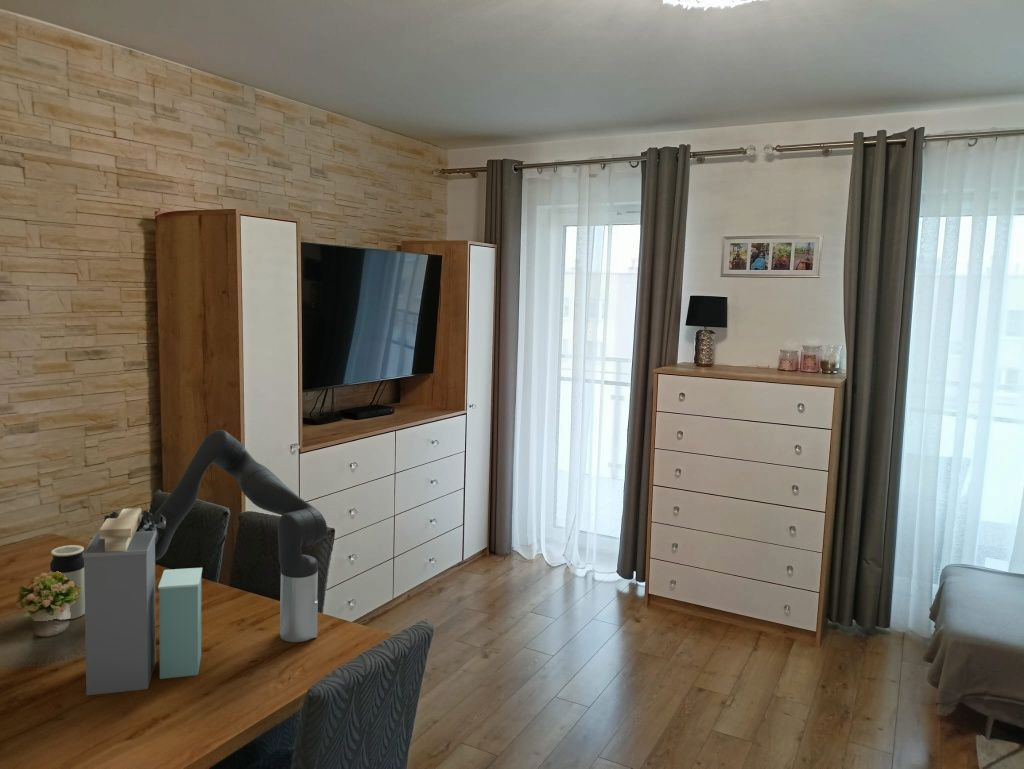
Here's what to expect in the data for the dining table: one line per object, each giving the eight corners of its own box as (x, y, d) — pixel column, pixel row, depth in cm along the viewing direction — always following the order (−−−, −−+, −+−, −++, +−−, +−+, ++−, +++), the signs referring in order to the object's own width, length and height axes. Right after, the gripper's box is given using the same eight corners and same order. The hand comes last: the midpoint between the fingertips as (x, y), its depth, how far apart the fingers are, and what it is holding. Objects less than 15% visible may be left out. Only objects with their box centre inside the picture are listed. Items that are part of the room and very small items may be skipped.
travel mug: (85, 618, 197) (83, 553, 195) (49, 623, 194) (48, 556, 192) (87, 606, 204) (86, 543, 202) (53, 610, 201) (51, 546, 199)
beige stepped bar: (146, 519, 182) (145, 499, 181) (131, 550, 161) (130, 528, 160) (118, 521, 180) (118, 500, 179) (99, 552, 159) (99, 529, 158)
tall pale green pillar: (202, 654, 182) (202, 567, 180) (198, 675, 172) (198, 584, 170) (164, 657, 180) (164, 569, 177) (158, 679, 170) (158, 586, 167)
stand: (156, 660, 178) (155, 530, 174) (148, 689, 166) (147, 550, 162) (98, 665, 174) (96, 533, 170) (85, 696, 162) (82, 553, 158)
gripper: (109, 516, 190) (96, 500, 175) (171, 514, 194) (163, 498, 179) (106, 546, 187) (93, 532, 172) (169, 543, 191) (161, 529, 177)
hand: (129, 515), depth 176 cm, fingers open, 6 cm apart
